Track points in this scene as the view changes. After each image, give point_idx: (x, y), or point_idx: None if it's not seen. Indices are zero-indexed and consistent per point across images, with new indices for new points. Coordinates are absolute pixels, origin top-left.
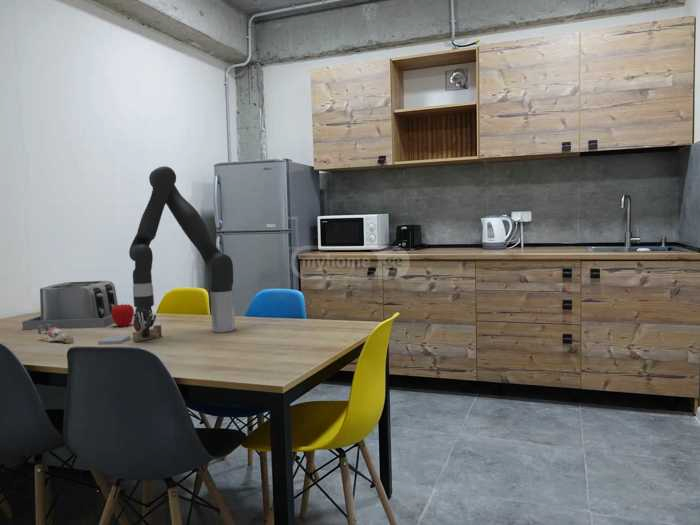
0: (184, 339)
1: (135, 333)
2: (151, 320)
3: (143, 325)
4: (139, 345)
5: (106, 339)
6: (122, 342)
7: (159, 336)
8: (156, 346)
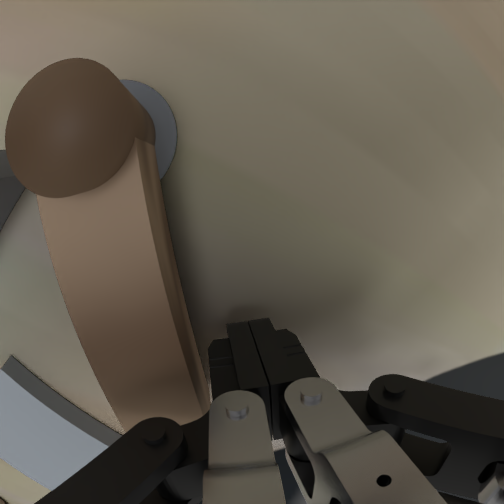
0: (437, 66)
1: None
2: (488, 446)
3: (306, 476)
4: None
5: (52, 479)
6: None
7: (155, 138)
8: (452, 322)
